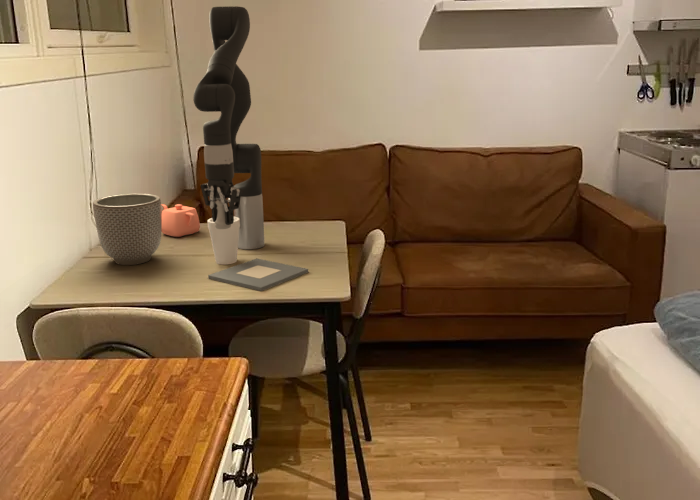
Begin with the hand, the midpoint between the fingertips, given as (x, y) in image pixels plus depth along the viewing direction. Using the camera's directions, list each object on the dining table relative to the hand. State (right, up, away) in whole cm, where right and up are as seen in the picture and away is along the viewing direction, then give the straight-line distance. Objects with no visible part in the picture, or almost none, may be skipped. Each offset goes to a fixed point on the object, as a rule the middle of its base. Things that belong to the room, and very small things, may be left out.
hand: (223, 222), depth 199 cm
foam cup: (-3, -11, +22) cm, 25 cm away
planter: (-32, -11, +25) cm, 42 cm away
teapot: (-25, -2, +57) cm, 62 cm away
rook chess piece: (0, -2, 0) cm, 2 cm away
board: (+9, -15, +8) cm, 19 cm away
